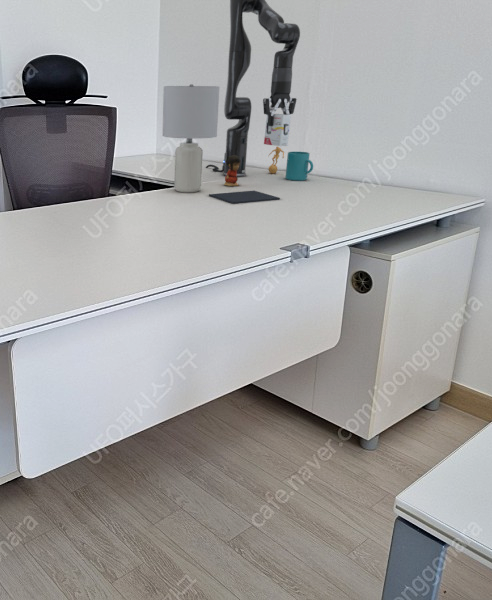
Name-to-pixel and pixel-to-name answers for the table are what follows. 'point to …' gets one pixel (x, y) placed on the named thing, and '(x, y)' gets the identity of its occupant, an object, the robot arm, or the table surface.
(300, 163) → the cup
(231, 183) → the figurine
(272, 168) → the figurine
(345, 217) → the table surface
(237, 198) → the mat
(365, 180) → the table surface
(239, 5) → the robot arm
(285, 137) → the ink box
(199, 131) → the lamp
